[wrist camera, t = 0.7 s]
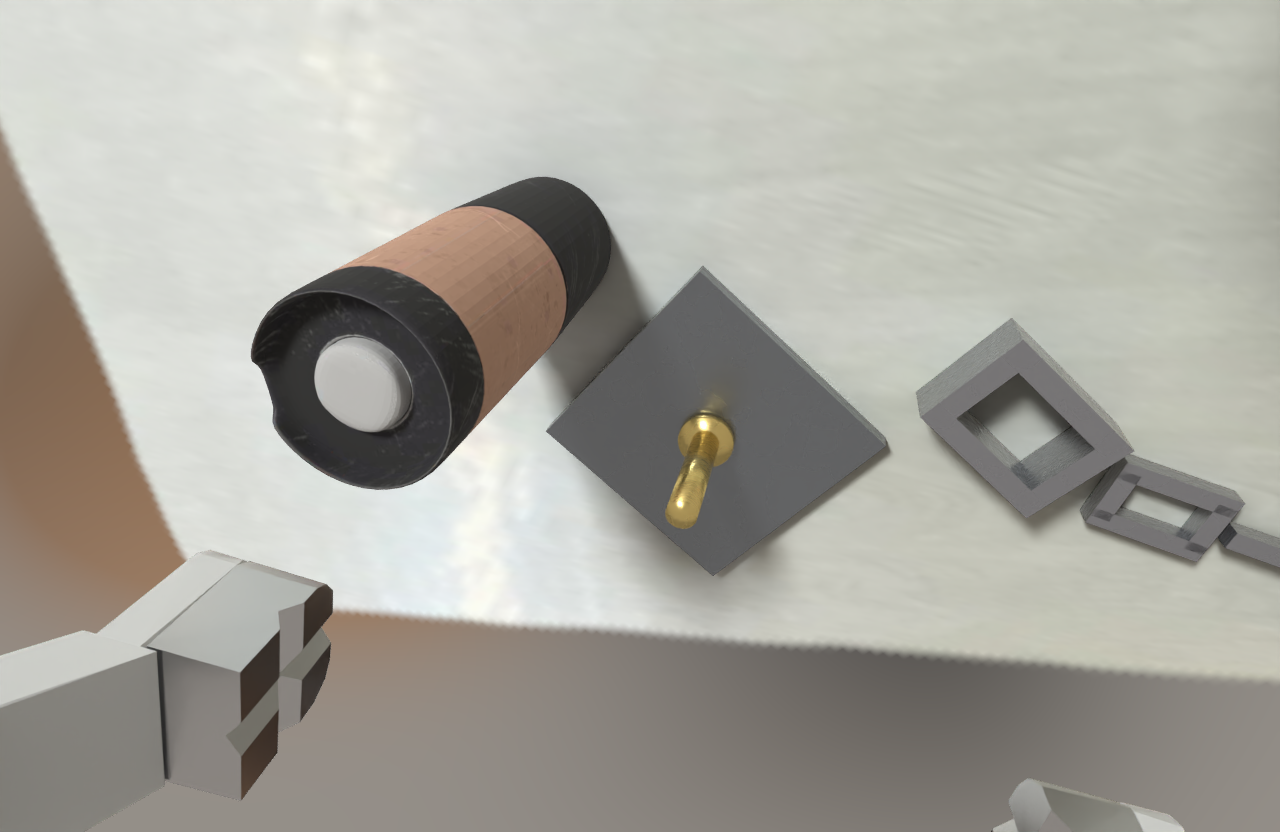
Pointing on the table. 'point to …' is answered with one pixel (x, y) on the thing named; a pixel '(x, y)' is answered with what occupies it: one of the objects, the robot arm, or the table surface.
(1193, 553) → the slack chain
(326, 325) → the travel mug
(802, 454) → the plate
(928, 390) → the end link
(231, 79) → the table surface
